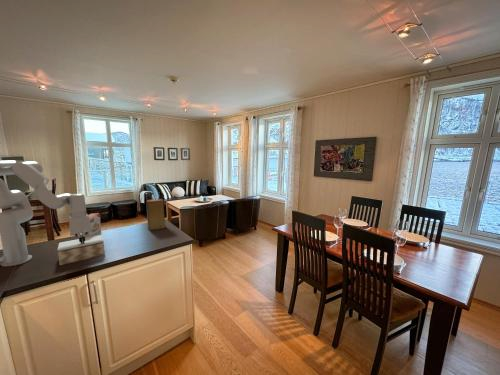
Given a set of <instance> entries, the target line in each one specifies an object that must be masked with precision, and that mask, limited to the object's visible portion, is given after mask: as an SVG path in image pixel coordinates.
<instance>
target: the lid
mask: <svg viewBox="0 0 500 375" xmlns="http://www.w3.org/2000/svg"><path fill="white" fill-rule="evenodd" d="M101 242H104V243H105V241H104V237H103V234H101V235H98V236H93V237H87V238H85V241H84V243H83V241H82V244H81V242H79V238H78V239H77V238H76V239H73V240H67V241H62V242H59V243H58V245H57V246H58V247H57V252H58V251H61V250H66V249H71V248H76V247H81V246H86V245H91V244H96V243H101Z"/></svg>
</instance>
